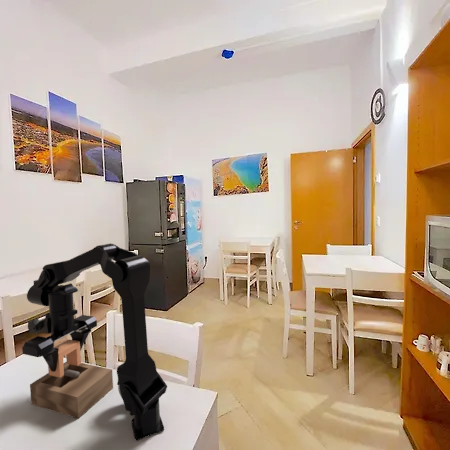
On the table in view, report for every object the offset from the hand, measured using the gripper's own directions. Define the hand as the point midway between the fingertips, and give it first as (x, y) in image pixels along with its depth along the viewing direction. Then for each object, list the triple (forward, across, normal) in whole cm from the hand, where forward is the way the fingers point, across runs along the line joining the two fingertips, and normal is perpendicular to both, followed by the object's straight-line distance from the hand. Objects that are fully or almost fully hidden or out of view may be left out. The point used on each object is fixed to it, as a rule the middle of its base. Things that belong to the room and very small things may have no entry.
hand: (65, 363), depth 78 cm
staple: (+2, 0, 0) cm, 2 cm away
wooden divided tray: (+9, 0, +2) cm, 9 cm away
